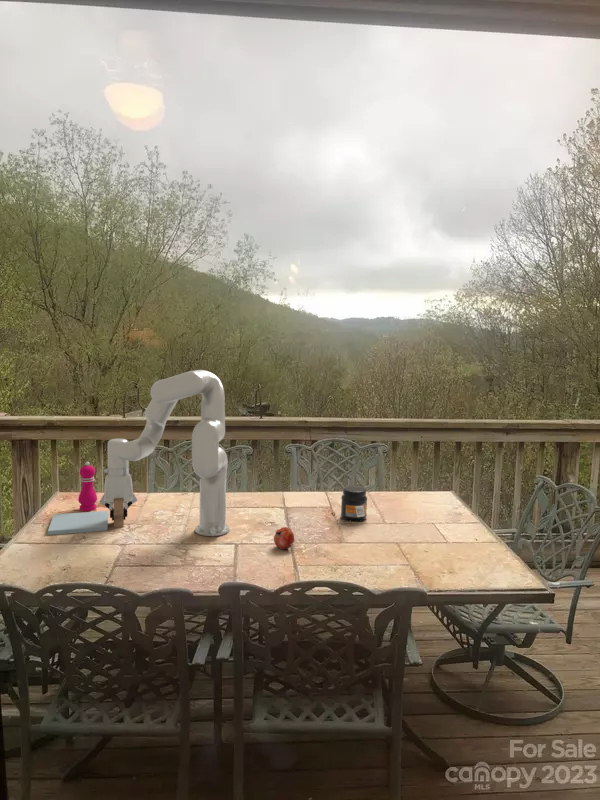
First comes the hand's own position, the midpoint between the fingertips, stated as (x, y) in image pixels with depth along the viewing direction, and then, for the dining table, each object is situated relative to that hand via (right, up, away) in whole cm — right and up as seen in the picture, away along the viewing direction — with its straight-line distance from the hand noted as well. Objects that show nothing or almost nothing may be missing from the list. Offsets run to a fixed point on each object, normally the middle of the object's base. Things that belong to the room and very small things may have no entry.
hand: (118, 518), depth 208 cm
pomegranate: (+63, -6, -19) cm, 67 cm away
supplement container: (+91, -3, +16) cm, 92 cm away
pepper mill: (-19, 0, +18) cm, 26 cm away
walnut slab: (0, -2, 0) cm, 2 cm away
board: (-15, -2, 0) cm, 15 cm away
